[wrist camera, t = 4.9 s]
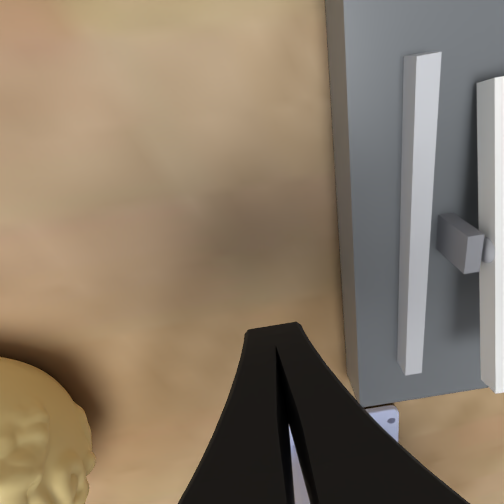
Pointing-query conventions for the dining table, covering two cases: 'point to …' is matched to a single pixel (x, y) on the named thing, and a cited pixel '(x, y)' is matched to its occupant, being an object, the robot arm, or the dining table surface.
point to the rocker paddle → (491, 229)
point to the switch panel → (410, 188)
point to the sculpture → (41, 439)
